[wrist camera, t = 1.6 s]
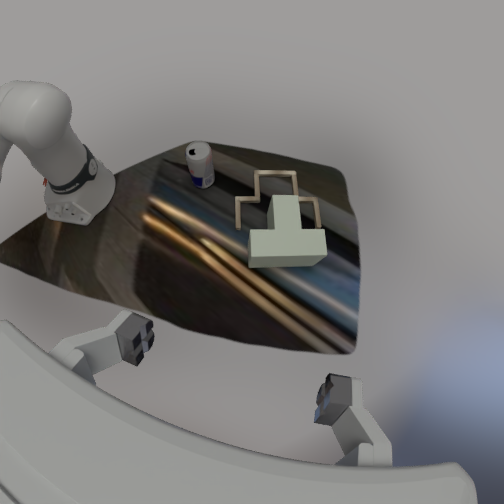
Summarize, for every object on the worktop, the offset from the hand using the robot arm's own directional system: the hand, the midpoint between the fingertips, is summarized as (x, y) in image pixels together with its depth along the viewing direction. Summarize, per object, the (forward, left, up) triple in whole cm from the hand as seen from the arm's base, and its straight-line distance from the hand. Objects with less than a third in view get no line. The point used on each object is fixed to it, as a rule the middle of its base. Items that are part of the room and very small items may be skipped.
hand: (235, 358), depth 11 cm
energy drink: (-7, +35, -45) cm, 57 cm away
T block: (+10, +19, -45) cm, 50 cm away
